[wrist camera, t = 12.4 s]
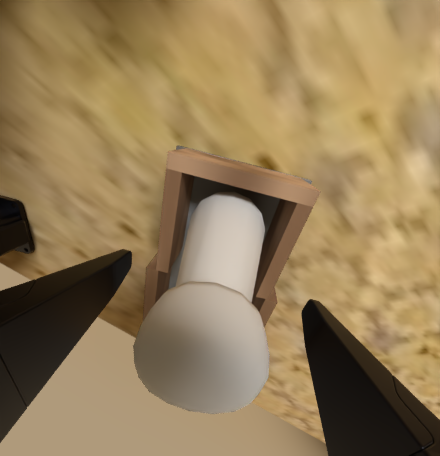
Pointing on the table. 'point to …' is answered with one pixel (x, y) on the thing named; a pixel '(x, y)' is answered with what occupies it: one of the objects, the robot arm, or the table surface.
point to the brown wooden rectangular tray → (244, 185)
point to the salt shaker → (209, 315)
